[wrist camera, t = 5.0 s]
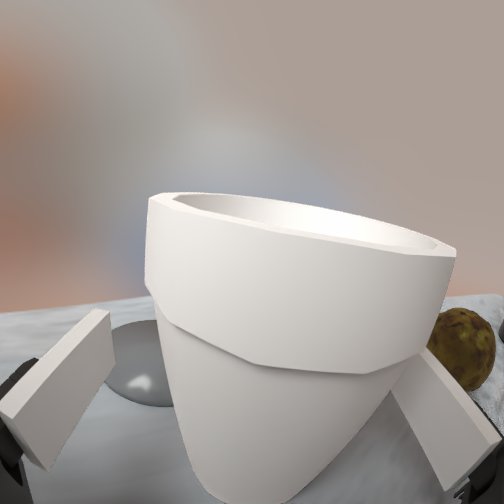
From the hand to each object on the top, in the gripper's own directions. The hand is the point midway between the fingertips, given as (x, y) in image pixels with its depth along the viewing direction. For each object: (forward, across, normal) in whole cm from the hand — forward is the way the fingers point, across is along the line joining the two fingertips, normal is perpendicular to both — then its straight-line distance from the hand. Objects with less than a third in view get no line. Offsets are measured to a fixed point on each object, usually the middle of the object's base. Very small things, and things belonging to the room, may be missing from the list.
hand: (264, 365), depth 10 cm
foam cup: (0, 0, -7) cm, 7 cm away
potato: (+6, +18, -7) cm, 20 cm away
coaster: (+8, -7, -7) cm, 12 cm away
